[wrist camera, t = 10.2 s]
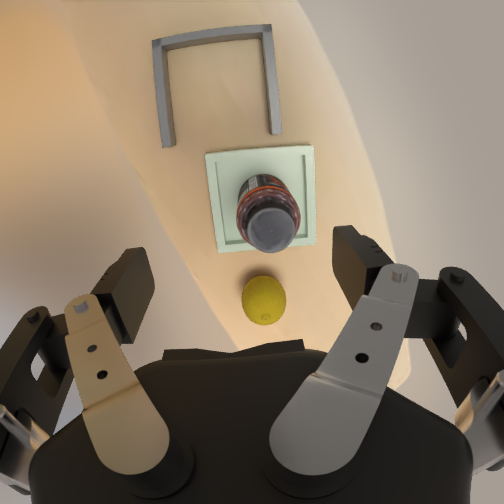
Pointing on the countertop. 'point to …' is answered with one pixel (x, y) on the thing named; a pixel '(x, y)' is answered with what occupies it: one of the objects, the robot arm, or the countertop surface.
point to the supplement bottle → (267, 213)
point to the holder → (206, 37)
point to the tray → (253, 163)
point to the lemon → (263, 300)
